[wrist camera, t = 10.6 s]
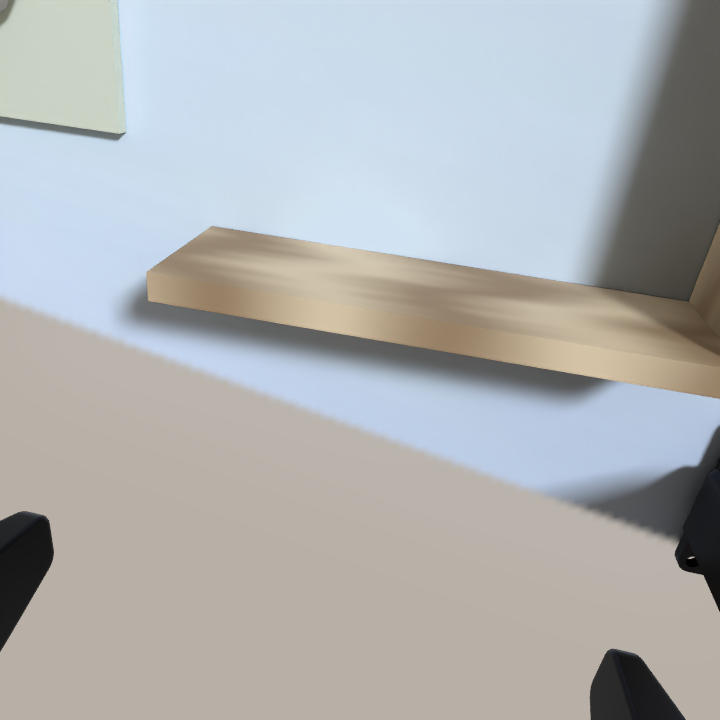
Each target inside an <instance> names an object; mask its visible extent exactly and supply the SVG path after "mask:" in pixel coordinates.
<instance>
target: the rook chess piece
mask: <svg viewBox="0 0 720 720" xmlns="http://www.w3.org/2000/svg"><path fill="white" fill-rule="evenodd" d="M8 2H9V0H0V12H1V11H2V10H3V9H5V8H6V7H7V4H8Z"/></svg>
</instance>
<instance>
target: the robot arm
mask: <svg viewBox="0 0 720 720" xmlns="http://www.w3.org/2000/svg"><path fill="white" fill-rule="evenodd" d="M683 530H684V534H683V536H682V538H681V540H680V542H679V544H678V546H677V549H676V551H675V557H676V560H677V562H678V565H679V567H680V568H681V569H682V570H684V571H687V572H692V573H697V574H702V575H704V577H705V580H706V582H707V584H708V586H709V588H710V591H711V593H712V595H713V598H714V600H715V602H716V604H717V606H718V609H719V611H720V460H719V462H718V464H717V466H716V468H715V470H713V471H712V472H711V473H709V474H708V476H707V478H706V480H705V482H704V484H703V486H702V488H701V490H700V493H699V495H698V497H697V499H696V501H695V503H694V505H693V507H692V509H691V511H690V513H689V515H688V517H687V520H686V522H685V524H684V526H683ZM53 555H54V550H53V543H52V537H51V529H50V523H49V520H48V519H47V517H46V516H44V515H40V514H36V513H31V512H26V511H23V512H18V513H16V514H14V515H12V516H9V517H7V518H5V519H3V520H1V521H0V651H1V650H2V648H3V646H4V645H5V643H6V642H7V640H8V638H9V636H10V635H11V633H12V631H13V630H14V628H15V626H16V625H17V623H18V621H19V619H20V618H21V616H22V614H23V612H24V611H25V609H26V607H27V606H28V604H29V602H30V600H31V599H32V597H33V595H34V593H35V592H36V590H37V588H38V587H39V585H40V583H41V581H42V580H43V578H44V576H45V575H46V573H47V571H48V569H49V568H50V566H51V563H52V560H53ZM689 557H695V558H692V559H687V558H689ZM590 712H591V720H686V719H685V718H684V716H683V715H682V714H681V712H680V711H679V710H678V708H677V707H676V705H675V704H674V703H673V701H672V700H671V699H670V697H669V696H668V694H667V693H666V692H665V690H664V689H663V688H662V686H661V685H660V683H659V682H658V681H657V679H656V678H655V676H654V675H653V674H652V672H651V671H650V670H649V668H648V667H647V665H646V664H645V663H644V661H643V660H642V659H641V658H640V657H639V656H638V655H636V654H634V653H630V652H626V651H621V650H617V649H610V650H608V651H607V653H606V654H605V656H604V658H603V660H602V663H601V664H600V667H599V669H598V671H597V673H596V675H595V677H594V679H593V682H592V685H591V690H590Z"/></svg>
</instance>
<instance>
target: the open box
mask: <svg viewBox="0 0 720 720" xmlns="http://www.w3.org/2000/svg"><path fill="white" fill-rule="evenodd" d="M147 290H148V301H151V302H157V303H163V304H168V305H174V306H180V307H186V308H192V309H198V310H204V311H209V312H215V313H221V314H227V315H233V316H239V317H245V318H250V319H256V320H262V321H268V322H274V323H280V324H286V325H291V326H297V327H303V328H309V329H315V330H321V331H326V332H332V333H338V334H344V335H350V336H356V337H362V338H367V339H373V340H379V341H385V342H391V343H397V344H403V345H408V346H414V347H420V348H426V349H432V350H438V351H444V352H449V353H455V354H461V355H467V356H473V357H479V358H484V359H490V360H496V361H502V362H508V363H514V364H520V365H525V366H531V367H537V368H543V369H549V370H555V371H561V372H566V373H572V374H578V375H584V376H590V377H596V378H602V379H607V380H613V381H619V382H625V383H631V384H637V385H642V386H648V387H654V388H660V389H666V390H672V391H678V392H683V393H689V394H695V395H701V396H707V397H713V398H719V399H720V223H719V226H718V229H717V231H716V234H715V236H714V239H713V241H712V244H711V246H710V249H709V251H708V254H707V256H706V259H705V261H704V264H703V266H702V269H701V272H700V274H699V277H698V279H697V282H696V284H695V287H694V289H693V292H692V294H691V297H690V299H689V302H687V301H681V300H675V299H668V298H662V297H656V296H649V295H643V294H637V293H630V292H624V291H618V290H611V289H605V288H599V287H593V286H586V285H580V284H574V283H567V282H561V281H555V280H548V279H542V278H536V277H529V276H523V275H517V274H510V273H504V272H498V271H491V270H485V269H479V268H473V267H466V266H460V265H454V264H447V263H441V262H435V261H428V260H422V259H416V258H409V257H403V256H397V255H390V254H384V253H378V252H371V251H365V250H359V249H353V248H346V247H340V246H334V245H327V244H321V243H315V242H308V241H302V240H296V239H289V238H283V237H277V236H270V235H264V234H258V233H251V232H245V231H239V230H233V229H226V228H220V227H214V226H211V227H210V228H209V229H207V230H206V231H204V232H203V233H201V234H200V235H199V236H197V237H196V238H194V239H193V240H191V241H190V242H189V243H187V244H186V245H184V246H183V247H181V248H180V249H179V250H177V251H176V252H174V253H173V254H172V255H170V256H169V257H167V258H166V259H164V260H163V261H162V262H160V263H159V264H157V265H156V266H154V267H153V268H152V269H150V270H149V271H147Z"/></svg>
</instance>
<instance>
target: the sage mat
mask: <svg viewBox="0 0 720 720" xmlns="http://www.w3.org/2000/svg"><path fill="white" fill-rule="evenodd" d="M0 116H2V117H9V118H16V119H22V120H29V121H36V122H43V123H50V124H56V125H63V126H70V127H77V128H84V129H91V130H97V131H104V132H111V133H118V134H121V133H125V132H126V122H125V107H124V92H123V76H122V61H121V46H120V30H119V15H118V0H9V2H8V4H7V7H6V8H5V9H3V10H2V11H1V12H0Z"/></svg>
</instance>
